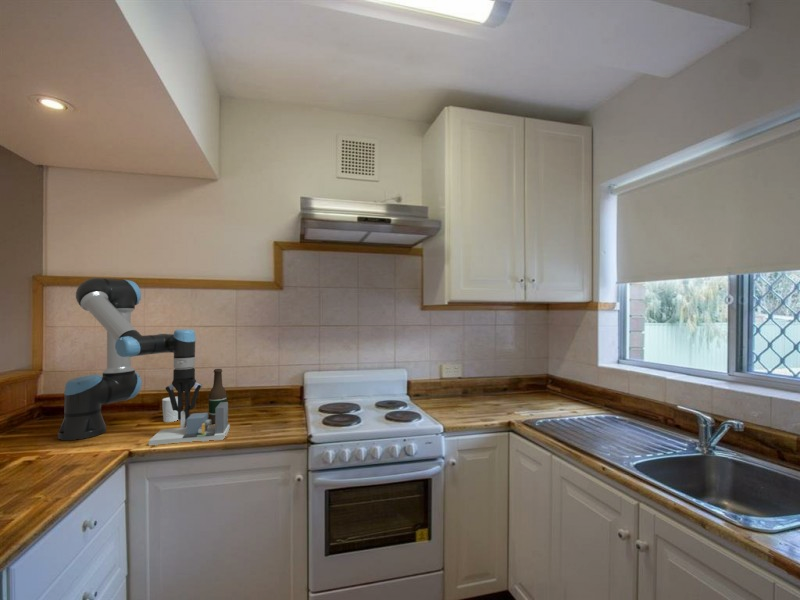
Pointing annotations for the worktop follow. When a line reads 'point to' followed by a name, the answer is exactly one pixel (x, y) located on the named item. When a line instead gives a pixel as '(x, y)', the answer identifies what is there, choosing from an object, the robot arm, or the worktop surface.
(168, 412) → the white cup
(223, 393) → the beer bottle
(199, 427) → the carriage
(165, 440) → the board
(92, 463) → the worktop surface
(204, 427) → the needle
